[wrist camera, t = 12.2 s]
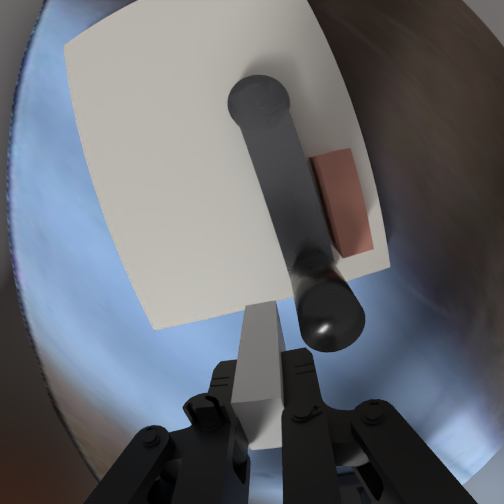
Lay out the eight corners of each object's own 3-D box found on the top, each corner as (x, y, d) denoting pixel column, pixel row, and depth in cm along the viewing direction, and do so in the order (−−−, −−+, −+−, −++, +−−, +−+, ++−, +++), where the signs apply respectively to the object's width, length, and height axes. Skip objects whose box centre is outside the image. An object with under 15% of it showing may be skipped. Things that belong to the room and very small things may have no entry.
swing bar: (223, 91, 16) (195, 49, 9) (277, 75, 15) (283, 22, 8) (290, 293, 20) (302, 361, 13) (339, 278, 19) (374, 338, 12)
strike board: (380, 258, 21) (407, 283, 16) (161, 318, 24) (141, 351, 19) (279, -31, 14) (282, -65, 9) (75, 51, 16) (42, 37, 12)
